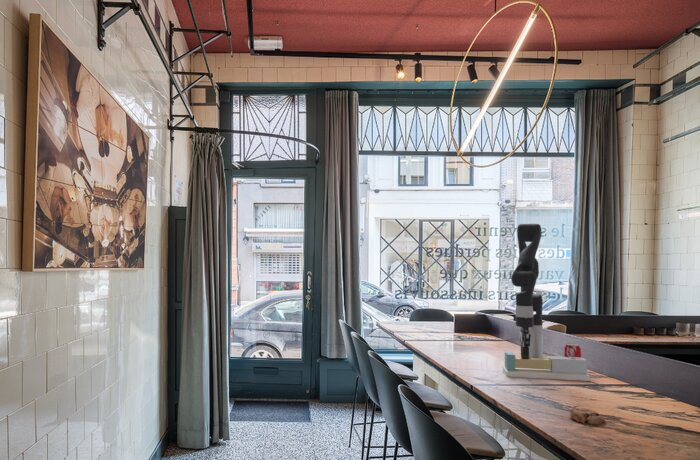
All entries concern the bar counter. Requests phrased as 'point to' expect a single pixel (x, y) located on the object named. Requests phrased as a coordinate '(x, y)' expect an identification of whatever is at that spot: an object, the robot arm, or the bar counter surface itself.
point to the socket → (509, 361)
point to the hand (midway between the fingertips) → (524, 354)
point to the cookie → (586, 416)
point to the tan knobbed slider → (532, 362)
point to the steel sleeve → (568, 365)
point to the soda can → (572, 350)
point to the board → (544, 374)
